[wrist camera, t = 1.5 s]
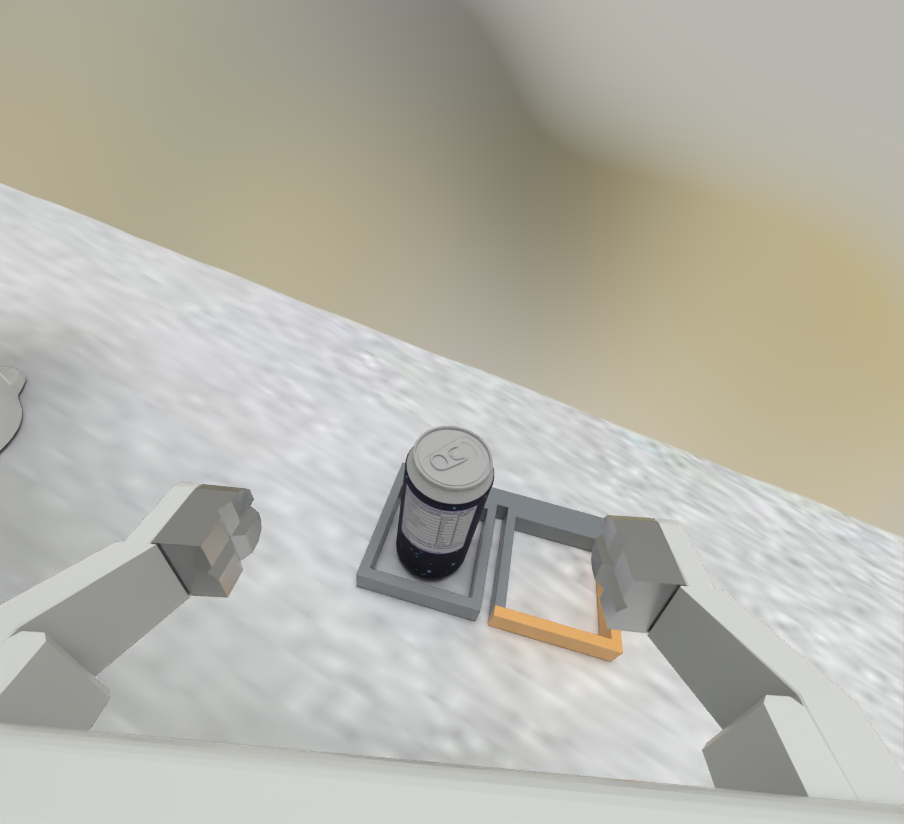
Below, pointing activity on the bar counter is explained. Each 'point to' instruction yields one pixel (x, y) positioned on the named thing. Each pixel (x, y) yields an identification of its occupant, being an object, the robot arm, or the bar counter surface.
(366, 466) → the bar counter surface
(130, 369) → the bar counter surface
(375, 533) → the divided rectangular frame
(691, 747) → the bar counter surface
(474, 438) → the beverage can
